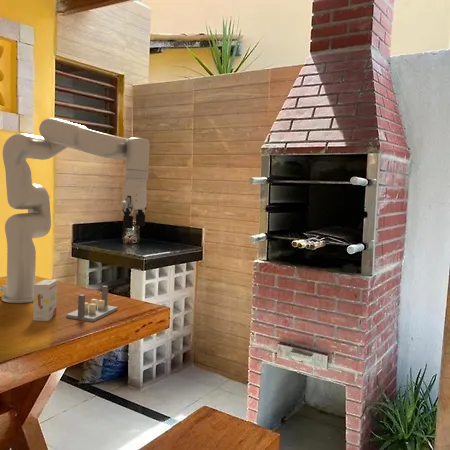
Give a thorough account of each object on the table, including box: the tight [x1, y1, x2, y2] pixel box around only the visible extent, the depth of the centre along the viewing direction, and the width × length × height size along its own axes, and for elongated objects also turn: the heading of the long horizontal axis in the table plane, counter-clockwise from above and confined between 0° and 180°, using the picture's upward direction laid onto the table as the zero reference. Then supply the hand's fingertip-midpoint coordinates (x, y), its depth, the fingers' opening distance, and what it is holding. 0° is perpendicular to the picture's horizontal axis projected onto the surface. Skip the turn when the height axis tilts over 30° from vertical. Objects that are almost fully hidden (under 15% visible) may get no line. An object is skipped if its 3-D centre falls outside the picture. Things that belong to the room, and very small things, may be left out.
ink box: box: [32, 279, 58, 322], centre depth 150 cm, size 9×5×12 cm, turn 1°
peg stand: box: [65, 285, 119, 322], centre depth 158 cm, size 10×16×8 cm, turn 164°
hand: (134, 226), depth 155 cm, fingers open, 9 cm apart
